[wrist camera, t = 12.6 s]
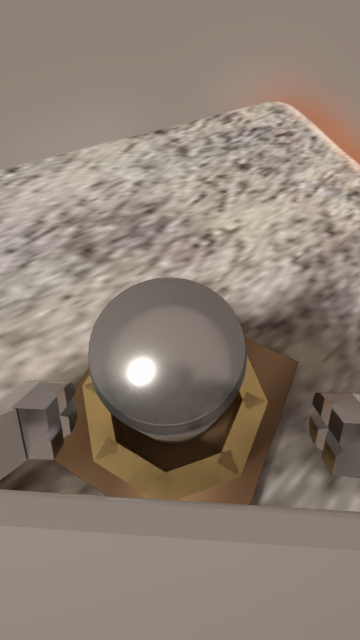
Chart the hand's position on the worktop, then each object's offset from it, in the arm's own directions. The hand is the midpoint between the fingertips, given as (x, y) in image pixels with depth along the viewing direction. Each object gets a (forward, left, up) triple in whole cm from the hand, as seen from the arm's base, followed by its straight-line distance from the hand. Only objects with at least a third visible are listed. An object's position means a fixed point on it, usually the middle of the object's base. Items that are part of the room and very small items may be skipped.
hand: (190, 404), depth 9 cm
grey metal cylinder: (+1, -1, -8) cm, 8 cm away
